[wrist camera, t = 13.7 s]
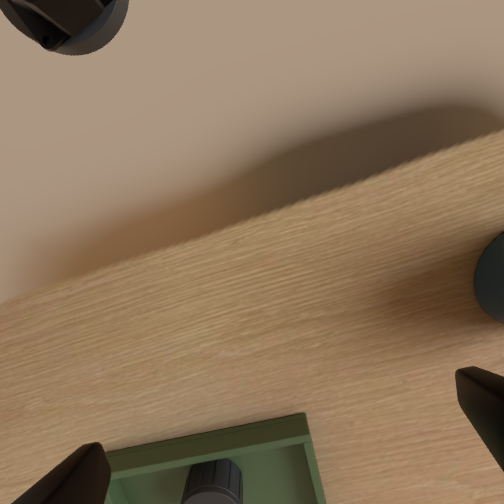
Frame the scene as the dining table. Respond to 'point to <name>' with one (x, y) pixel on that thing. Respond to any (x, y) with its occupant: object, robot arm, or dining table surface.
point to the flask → (491, 279)
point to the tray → (217, 447)
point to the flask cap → (214, 483)
